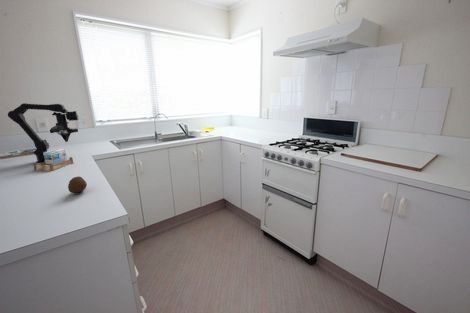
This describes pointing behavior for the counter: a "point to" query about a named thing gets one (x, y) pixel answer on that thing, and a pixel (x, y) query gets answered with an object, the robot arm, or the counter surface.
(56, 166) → the wooden frame
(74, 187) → the potato
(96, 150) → the counter surface
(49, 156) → the light bulb box
